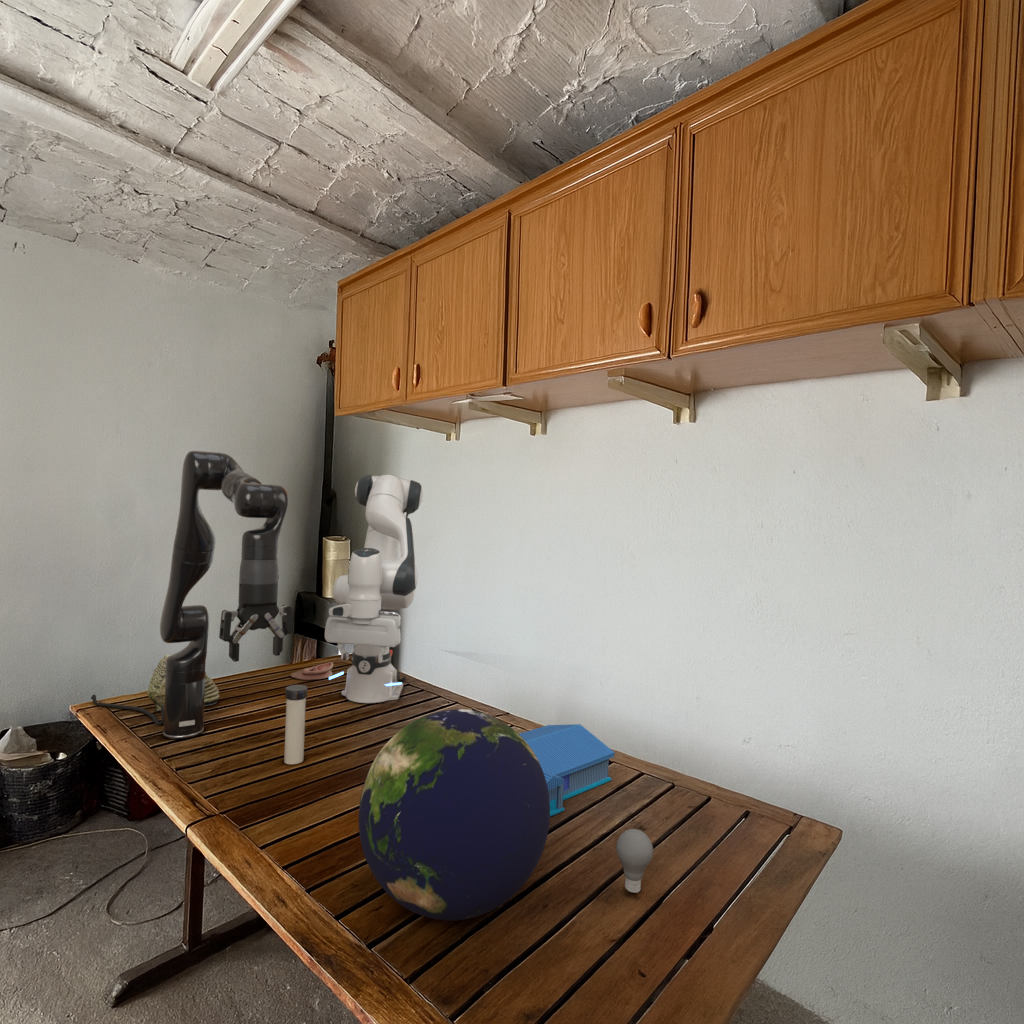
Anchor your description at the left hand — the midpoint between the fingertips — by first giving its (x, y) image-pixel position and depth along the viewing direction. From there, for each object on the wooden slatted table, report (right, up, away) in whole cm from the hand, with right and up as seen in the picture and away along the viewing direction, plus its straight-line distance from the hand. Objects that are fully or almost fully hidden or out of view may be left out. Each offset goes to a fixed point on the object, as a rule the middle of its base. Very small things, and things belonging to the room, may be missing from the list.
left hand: (256, 657), depth 132 cm
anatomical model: (-17, -27, +89) cm, 95 cm away
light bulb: (+73, -33, -26) cm, 85 cm away
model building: (+56, -32, +10) cm, 65 cm away
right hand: (+13, -10, +38) cm, 41 cm away
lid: (+2, -12, +19) cm, 23 cm away
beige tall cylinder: (+1, -29, +19) cm, 35 cm away
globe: (+44, -32, -31) cm, 62 cm away
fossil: (-43, -27, +53) cm, 73 cm away
